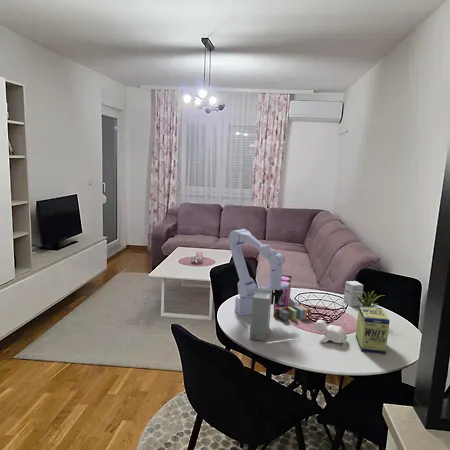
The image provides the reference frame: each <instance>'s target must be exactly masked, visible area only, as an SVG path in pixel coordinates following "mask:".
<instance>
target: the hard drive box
mask: <svg viewBox="0 0 450 450" xmlns="http://www.w3.org/2000/svg"><path fill="white" fill-rule="evenodd" d="M271 297H272V289H267V288H261V287H258V286H257V289H256V291H255V293H254V296H253V301H252V313H251V314H250V315H251V317H250V325H249V326H250V328H249V340H253V341H254V340H255V341H256V340H257V341H262V342H266V341H267V337H268V333H269V329H270V323H271V322H270V320H271V310H272V309H271V308H272V305H271Z"/></svg>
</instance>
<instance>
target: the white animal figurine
mask: <svg viewBox="0 0 450 450" xmlns="http://www.w3.org/2000/svg"><path fill="white" fill-rule="evenodd" d="M315 329H316V331H319V332H320V333H323V332H324V338H322V340H321V341H322V343H323V344H325V343H327V342H328V341H332V342H334V343H337V344H342V346H345V345H346V342H347V339H348V335H347V333H346V332H345V330H344V328H343V327H342V326H339V325H336V324H335V325H333V324H329V325H327V321H325V320H324V319H317V321H316V322H315Z"/></svg>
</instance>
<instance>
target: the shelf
mask: <svg viewBox="0 0 450 450" xmlns="http://www.w3.org/2000/svg"><path fill="white" fill-rule="evenodd" d="M300 305H302V306H303V307H305V308H306V309H308V314H309V313H311V311H312V309H311V308H309V307H308V306H306V305H304V304H303V303H300V304H299V305H297V306H300ZM295 306H296V305H293V306H292V305H291V306H290V305H289V306H288V307H292V308H293V309H295ZM288 307H281V308H274V307H273V308H274V309H273V315H272V316H273V317H274V319H276V320H277V321H278V322H280V323H281V324H283V323H284V322H283V321H282V320H280V319H279V318H278V309H282V308H283V309H285V310H286V311H287V308H288ZM311 314H312V313H311ZM304 320H307V319H302V320H300V319H299V318H297V317H296V320H295V321H296V322H298V321H304ZM295 321H293V320H291V319H290V318H289V321H287V322H286V323H288V322H289V323H290V322H295Z"/></svg>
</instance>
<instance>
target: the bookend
mask: <svg viewBox="0 0 450 450" xmlns="http://www.w3.org/2000/svg"><path fill="white" fill-rule="evenodd" d="M278 318H279V319H280V320H282V321H283V323H288V322H287V321H289V312H288V311H286V310H285V309H283V308H282V309H278Z"/></svg>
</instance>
